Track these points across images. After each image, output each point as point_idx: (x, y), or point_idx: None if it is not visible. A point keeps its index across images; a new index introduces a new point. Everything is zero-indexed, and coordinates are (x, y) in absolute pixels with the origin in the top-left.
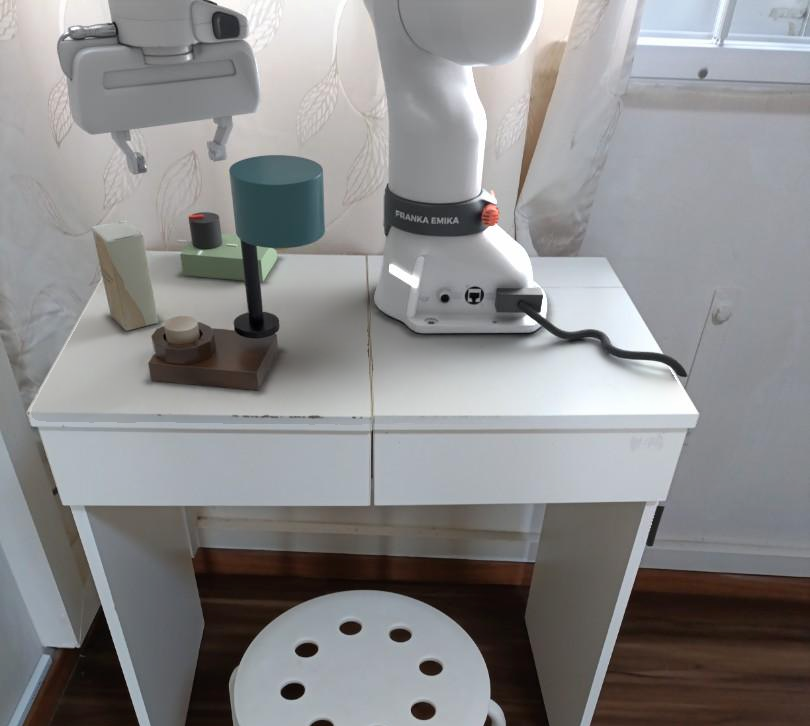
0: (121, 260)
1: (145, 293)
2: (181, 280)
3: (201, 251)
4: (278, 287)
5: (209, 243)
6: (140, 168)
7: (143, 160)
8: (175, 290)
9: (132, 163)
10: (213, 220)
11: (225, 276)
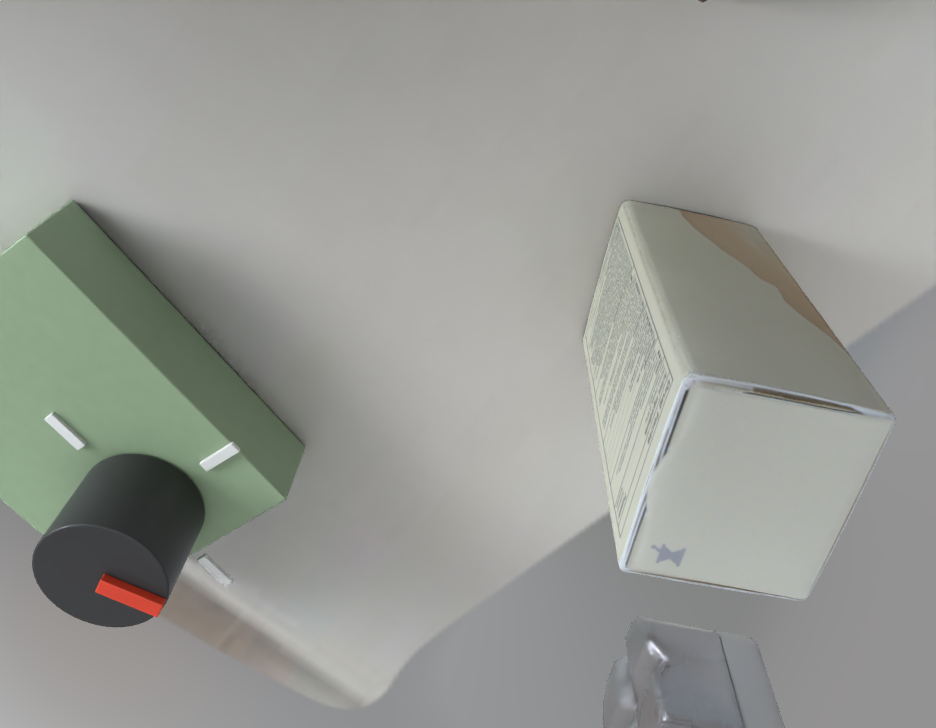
0: (805, 347)
1: (679, 252)
2: (333, 423)
3: (207, 459)
4: (38, 113)
5: (153, 473)
6: (705, 647)
7: (671, 694)
8: (399, 375)
9: (776, 704)
10: (79, 530)
11: (186, 327)
